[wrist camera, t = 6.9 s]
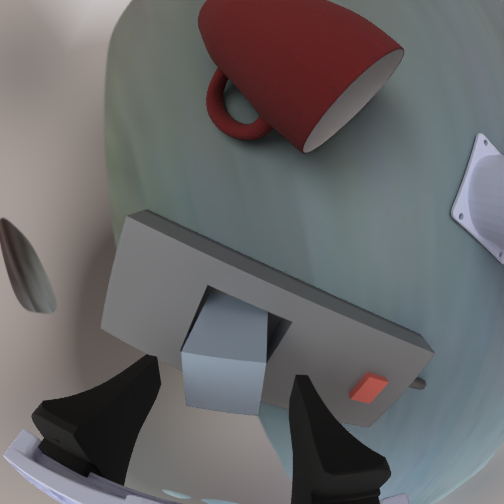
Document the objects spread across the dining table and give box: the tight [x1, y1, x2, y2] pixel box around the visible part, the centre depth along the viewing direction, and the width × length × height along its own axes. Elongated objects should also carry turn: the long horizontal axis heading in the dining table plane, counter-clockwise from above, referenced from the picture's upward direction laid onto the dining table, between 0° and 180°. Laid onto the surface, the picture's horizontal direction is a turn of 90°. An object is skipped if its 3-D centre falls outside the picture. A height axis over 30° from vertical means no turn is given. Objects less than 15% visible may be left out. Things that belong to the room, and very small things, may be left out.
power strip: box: [101, 210, 435, 427], centre depth 18 cm, size 29×9×4 cm, turn 65°
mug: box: [198, 0, 404, 153], centre depth 12 cm, size 10×8×10 cm
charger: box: [181, 293, 268, 416], centre depth 16 cm, size 4×4×7 cm
